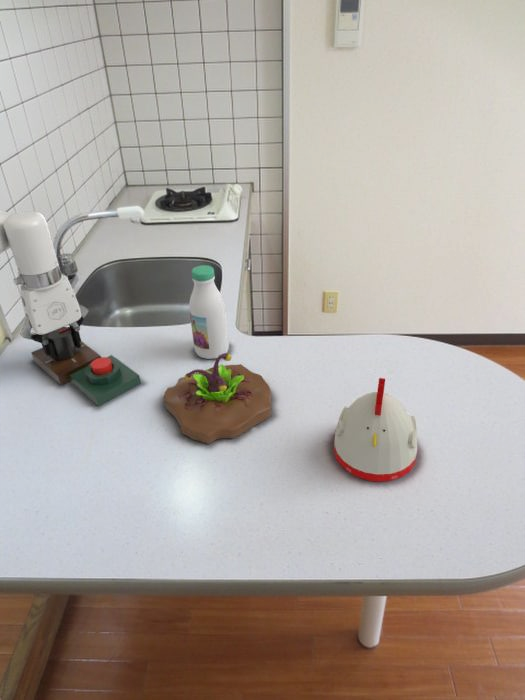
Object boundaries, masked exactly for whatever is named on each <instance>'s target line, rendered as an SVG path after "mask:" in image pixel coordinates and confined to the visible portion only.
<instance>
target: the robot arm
mask: <svg viewBox="0 0 525 700" xmlns="http://www.w3.org/2000/svg"><path fill="white" fill-rule="evenodd" d="M49 229H50V228H49V226H48V222H47V220H46V218H45V217H44V215H43V214H42V213H40V212H37V211H21V212H9V211H5V210H4V211H3V210H0V255H1V254H2V253H4V252H5V251H7V250H9V249H10V250H11V253H12V256H13V259H14V262H15V266H16V268H17V274H18V275H17V276H16V277H15V278H13V279H12V281H13V284H14V285H15V286H19V285H20V296H21V297H20V298H21V303H22V308H23V312H24V316H25V321H24V323H23V326H22V328H21V330H20V332H19V336H21V337H22V339H26V340H31V341H34V342H37V343H39V344H41V346H42V347H41V348H43V350H44V352H45V354H46V355H47V356H48V355H49V356H50V357H51V358H52V359H55V358H56V355H55V352H54V349H53V345H52V343H51V342H50V341H49V333H50V332H52V331H55V330H57V329H60V328H62V327H70V329H71V332H72V335H73V339H74V342H75V346H76V347H77V348H80V347H81V345H80V342H81V341H82V338H81V335H80V330H81V326H82V324H83V322H84V321H85V319H84V318H86V316H87V315H88V313H89V311H90V309H89V308H87V307H86V306H84V305H83V304H81V303H79V301H78V299H77V297H76V294H75V291H74V289H73V287H72V284H71V283H70V281H69V279H68V277H67V276H66V275H65V274H63V273H62V272H61V268H60V264H59V261H58V257H57V253H56V251H55V247H54V242H53V240H52V237H51V232H50V230H49ZM31 330H33V331H34V332H31Z"/></svg>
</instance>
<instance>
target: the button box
mask: <svg viewBox="0 0 525 700" xmlns="http://www.w3.org/2000/svg"><path fill="white" fill-rule="evenodd" d="M106 358H109V359H110V360H111V363H112V367H113V369H112V370H111V371H110V372H108V373H106V374H102V375H95V374H94V373H93V371H92V367H91V363H90V364H89V365H88V366H87V367H85V368H83V369H81V370H79V371H77V372H75V373H73V374H71V375H70V378H71V381H70V382H71V384H72V385H73V386H75V387H76V389H78V390H79V391H80V392H81V393H82V394H84V395H85V396H86V397H87V398H88V399H89V400H90V401H92V402H93V403H94V404H95V405H96V406H98V407H100V406H102V405H104V404H106V403H108V402H110V401H111V400H113V399H115V398H117V397H119V396H121V395H123V394H125V393H126V392H128V391H130V390H132V389H134V388H135V387H137V386H139V385H141V384H142V381H141V377H140V374H138V373H137V372H136V371H134V370H133V369H131V368H130V367H129V366H127V365H126V364H125V363H123V361H120V360H119V359H118V358H117V357H115V356H113V355H112V354H111V355H108V356H106Z"/></svg>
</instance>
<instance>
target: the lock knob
mask: <svg viewBox="0 0 525 700" xmlns="http://www.w3.org/2000/svg"><path fill="white" fill-rule="evenodd" d="M49 341H50V342H51V343H52V345H53V349H54V352H55V355H56V358H55V359H56V360H67V359H70V358H72V357H74V356H75V355H76V354H77V349H76V346H75V342H74V339H73V335H72V332H71V329H70V326H65V327H62V328H60V329H57V330H55V331H52V332H50V333H49Z"/></svg>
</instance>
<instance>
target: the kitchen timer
mask: <svg viewBox="0 0 525 700" xmlns="http://www.w3.org/2000/svg"><path fill="white" fill-rule="evenodd" d="M377 384H378V385H377V391H374V392H368V393H365V394H364V395H361V396H360V397H358V398H357V399H356V400H354V401H353V402H352V403H351V404H350V405H349V406H348V407H347V406H346V405H345V406H344V407H343V408H342V411H341V413H340V415H339V417H338V421H337V425H336V428H335V434H334V441H333V442H334V443H333V453H334V456H335V459H336V462H338V464H339V465H340V466H341V467H342V469H344V470H345V471H347V472H348V473H349V474H351V475H352V476H354V477H357V478H360V479H362V480H365V481H371V482H375V483H376V482H379V483H380V482H390V481H394V480H398V479H400V478H402V477H404V476H406V475H408V473H410V472H411V470H412V469H413V468H414V467H415V464H416V460H417V455H418V443H419V442H418V441H419V439H418V428H417V422H416V421H417V420H416V416H414V415H412V416H411V415H410V414H409V412H408V411H407V409H406V407H405V406H404V405H403V404H402V402H400V401H399V400H398V399H397V398H396V397H394V396H393V395H391V394H389V393H386V392H385V385H386V378H385V377H379V378H378V383H377Z"/></svg>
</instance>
